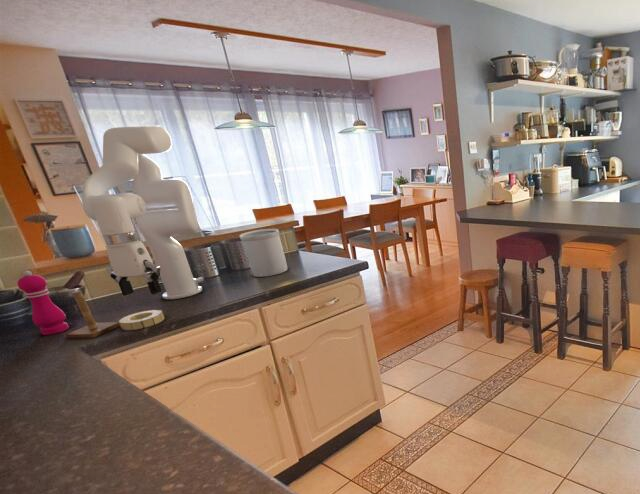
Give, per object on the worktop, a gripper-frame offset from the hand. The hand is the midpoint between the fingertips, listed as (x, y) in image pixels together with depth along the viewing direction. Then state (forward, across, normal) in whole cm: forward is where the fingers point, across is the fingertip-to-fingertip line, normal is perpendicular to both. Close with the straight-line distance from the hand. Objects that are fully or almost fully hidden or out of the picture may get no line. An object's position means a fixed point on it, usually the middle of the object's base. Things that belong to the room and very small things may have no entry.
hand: (142, 293), depth 135 cm
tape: (+10, +4, -1) cm, 11 cm away
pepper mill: (+10, +30, +4) cm, 32 cm away
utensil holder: (+9, -4, -55) cm, 56 cm away
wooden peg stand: (+10, +16, +5) cm, 19 cm away
